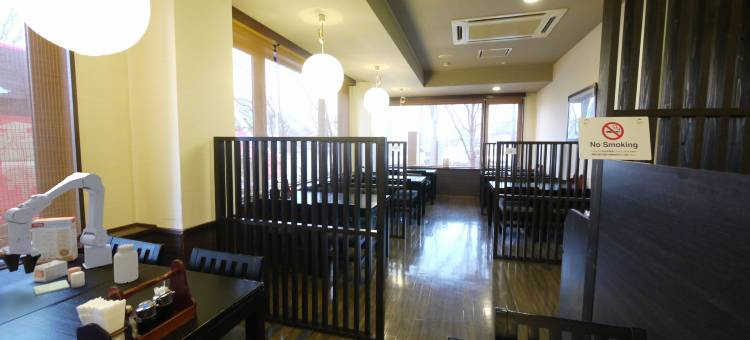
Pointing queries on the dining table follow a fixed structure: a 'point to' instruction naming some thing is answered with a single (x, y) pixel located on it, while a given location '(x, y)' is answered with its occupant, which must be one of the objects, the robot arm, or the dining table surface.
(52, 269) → the block
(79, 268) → the terracotta peg
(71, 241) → the cracker box
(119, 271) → the pill bottle
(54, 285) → the pad
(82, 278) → the ivory peg
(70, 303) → the dining table surface
